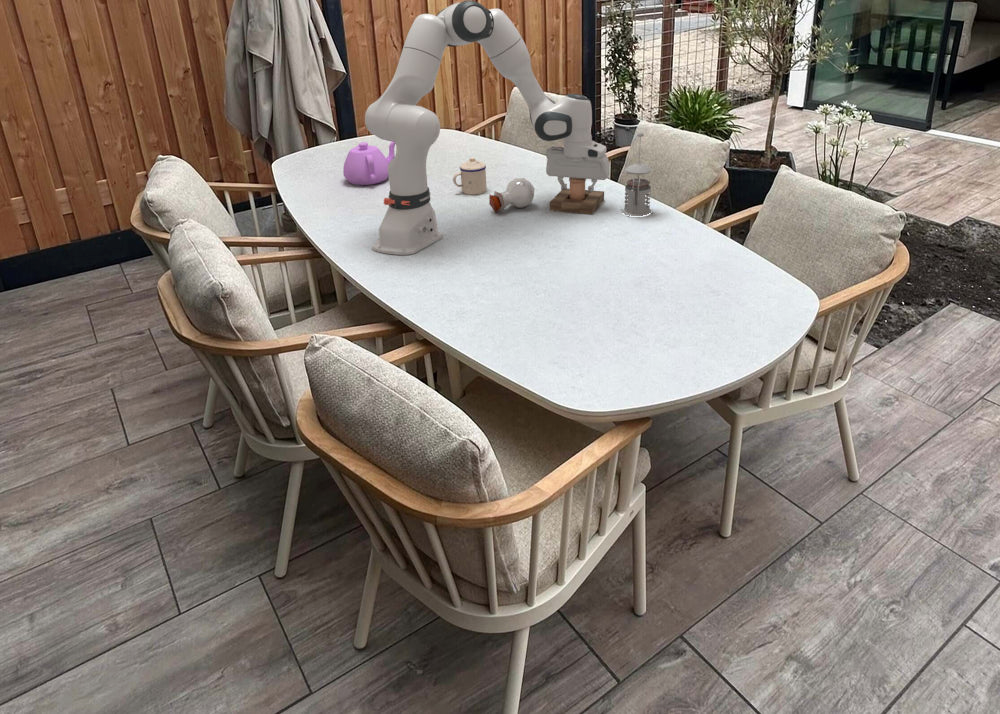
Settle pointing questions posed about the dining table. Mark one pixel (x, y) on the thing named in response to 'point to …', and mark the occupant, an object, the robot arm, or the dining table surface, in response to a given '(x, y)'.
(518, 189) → the potion bottle
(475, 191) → the teacup with lid
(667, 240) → the dining table surface
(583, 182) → the copper mug
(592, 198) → the holder
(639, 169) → the french press
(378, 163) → the teapot
